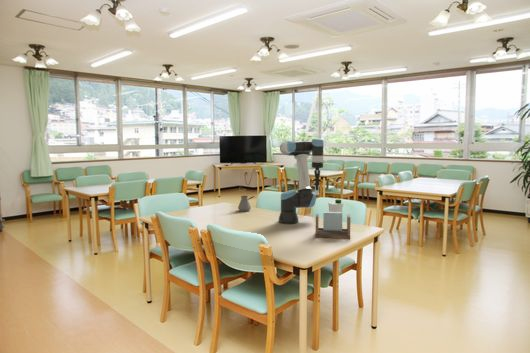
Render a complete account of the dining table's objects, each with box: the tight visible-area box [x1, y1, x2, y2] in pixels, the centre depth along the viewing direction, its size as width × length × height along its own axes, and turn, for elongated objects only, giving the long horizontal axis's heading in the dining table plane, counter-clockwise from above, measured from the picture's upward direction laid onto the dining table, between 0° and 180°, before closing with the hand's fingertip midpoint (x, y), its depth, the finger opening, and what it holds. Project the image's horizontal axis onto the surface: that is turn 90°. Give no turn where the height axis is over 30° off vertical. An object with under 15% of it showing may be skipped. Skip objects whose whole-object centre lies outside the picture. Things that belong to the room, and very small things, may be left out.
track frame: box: [314, 213, 351, 240], centre depth 239 cm, size 12×22×14 cm, turn 80°
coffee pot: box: [237, 195, 256, 213], centre depth 315 cm, size 21×12×15 cm, turn 37°
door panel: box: [322, 211, 343, 231], centre depth 239 cm, size 3×12×14 cm, turn 80°
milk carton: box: [328, 199, 344, 213], centre depth 258 cm, size 9×9×20 cm
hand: (316, 192), depth 247 cm, fingers open, 13 cm apart
